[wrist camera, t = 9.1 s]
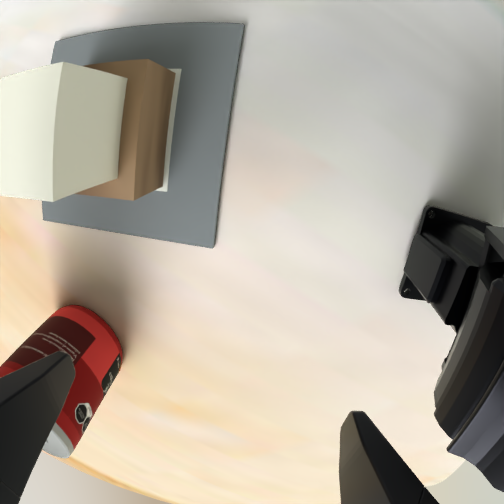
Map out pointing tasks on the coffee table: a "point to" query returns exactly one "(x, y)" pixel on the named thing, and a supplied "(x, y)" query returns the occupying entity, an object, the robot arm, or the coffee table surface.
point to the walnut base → (139, 129)
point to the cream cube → (59, 130)
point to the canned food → (85, 363)
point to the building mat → (179, 129)
